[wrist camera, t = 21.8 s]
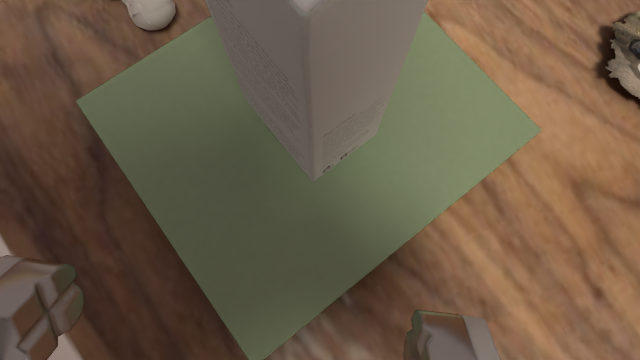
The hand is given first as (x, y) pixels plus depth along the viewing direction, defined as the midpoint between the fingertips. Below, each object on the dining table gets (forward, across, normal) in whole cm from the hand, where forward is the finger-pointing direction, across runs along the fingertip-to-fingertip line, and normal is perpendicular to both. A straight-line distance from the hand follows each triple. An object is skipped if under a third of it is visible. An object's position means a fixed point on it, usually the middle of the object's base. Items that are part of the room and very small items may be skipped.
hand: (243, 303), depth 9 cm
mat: (+13, 0, 0) cm, 13 cm away
